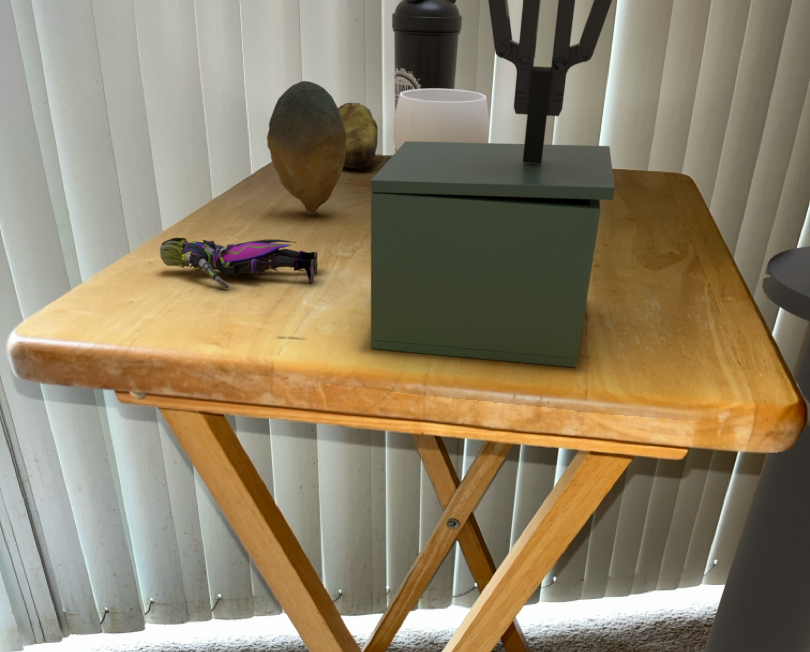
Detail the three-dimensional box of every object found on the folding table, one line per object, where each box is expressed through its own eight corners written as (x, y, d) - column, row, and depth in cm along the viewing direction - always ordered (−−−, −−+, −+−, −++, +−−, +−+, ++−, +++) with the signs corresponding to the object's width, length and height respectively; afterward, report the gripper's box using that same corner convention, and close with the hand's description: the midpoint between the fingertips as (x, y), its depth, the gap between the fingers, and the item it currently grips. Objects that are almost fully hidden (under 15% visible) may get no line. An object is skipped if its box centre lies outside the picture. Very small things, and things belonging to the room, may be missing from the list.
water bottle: (377, 158, 134) (378, -14, 121) (428, 151, 139) (434, -15, 126) (415, 170, 128) (421, -10, 114) (467, 163, 133) (478, -11, 119)
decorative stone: (350, 210, 109) (349, 79, 100) (343, 223, 104) (340, 86, 95) (277, 206, 109) (269, 75, 100) (266, 219, 104) (256, 82, 96)
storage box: (577, 303, 83) (597, 164, 75) (576, 367, 70) (600, 209, 63) (402, 288, 85) (405, 152, 78) (370, 348, 73) (370, 193, 65)
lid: (608, 156, 75) (609, 145, 74) (613, 200, 62) (614, 187, 62) (405, 151, 78) (405, 141, 77) (370, 192, 65) (370, 180, 65)
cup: (498, 241, 99) (511, 99, 90) (423, 254, 94) (429, 105, 86) (448, 219, 106) (454, 85, 98) (375, 230, 102) (376, 90, 93)
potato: (318, 171, 126) (316, 112, 121) (335, 153, 136) (334, 98, 132) (373, 174, 125) (373, 115, 120) (386, 156, 135) (386, 101, 131)
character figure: (320, 266, 91) (173, 254, 91) (321, 231, 89) (170, 219, 89) (309, 296, 84) (148, 283, 83) (309, 258, 81) (144, 245, 81)
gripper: (468, -238, 53) (448, 163, 67) (680, -237, 51) (614, 174, 65) (480, -220, 59) (459, 145, 73) (670, -219, 57) (612, 154, 71)
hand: (532, 158), depth 69 cm, fingers closed
